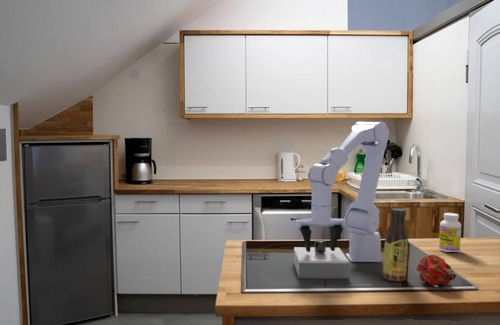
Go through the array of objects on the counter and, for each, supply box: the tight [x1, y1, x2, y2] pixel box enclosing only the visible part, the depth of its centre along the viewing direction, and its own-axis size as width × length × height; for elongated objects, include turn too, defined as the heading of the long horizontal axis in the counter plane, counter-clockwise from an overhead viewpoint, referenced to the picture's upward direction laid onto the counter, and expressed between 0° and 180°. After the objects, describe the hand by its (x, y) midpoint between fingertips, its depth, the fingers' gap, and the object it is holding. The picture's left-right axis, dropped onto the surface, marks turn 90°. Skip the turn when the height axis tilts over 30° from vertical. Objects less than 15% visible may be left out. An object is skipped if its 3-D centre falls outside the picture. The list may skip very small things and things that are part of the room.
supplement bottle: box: [438, 212, 462, 253], centre depth 160 cm, size 7×7×13 cm
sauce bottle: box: [382, 207, 409, 283], centre depth 131 cm, size 6×6×20 cm
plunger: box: [314, 239, 327, 255], centre depth 138 cm, size 11×11×8 cm
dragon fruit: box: [415, 254, 457, 287], centre depth 128 cm, size 8×8×12 cm
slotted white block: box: [293, 246, 350, 280], centre depth 138 cm, size 14×14×5 cm
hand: (320, 250), depth 138 cm, fingers open, 7 cm apart
